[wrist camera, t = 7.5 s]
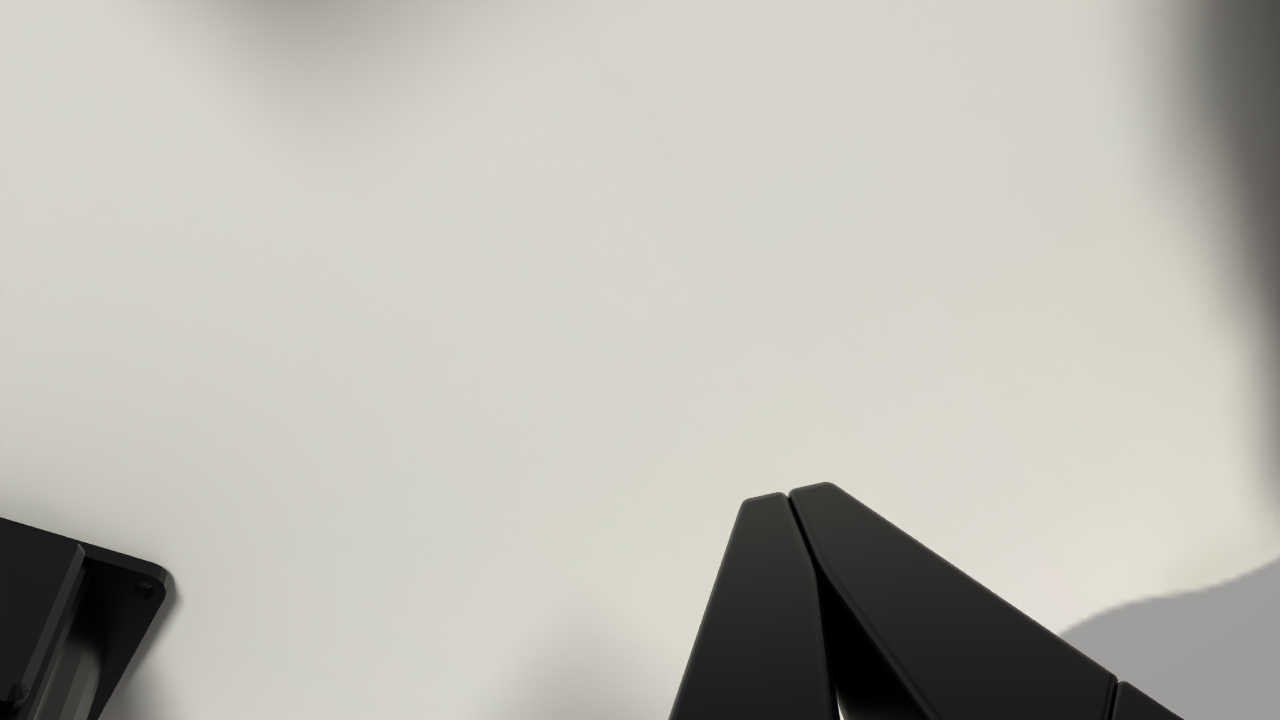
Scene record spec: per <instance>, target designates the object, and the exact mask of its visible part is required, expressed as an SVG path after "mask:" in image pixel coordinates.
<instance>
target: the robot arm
mask: <svg viewBox="0 0 1280 720" xmlns="http://www.w3.org/2000/svg"><path fill="white" fill-rule="evenodd" d="M169 581H170V578H169V575H168V572H167V571H166V570H165V569H164V568H163V567H161V566H159V565H157V564H155V563H152V562H149V561H146V560H142V559H139V558H135V557H132V556H129V555H125V554H122V553H119V552H115V551H112V550H109V549H105V548H102V547H98V546H95V545H92V544H88V543H85V542H82V541H78V540H75V539H72V538H68V537H65V536H62V535H58V534H55V533H51V532H48V531H45V530H41V529H38V528H35V527H31V526H28V525H25V524H21V523H18V522H15V521H11V520H8V519H4V518H1V517H0V720H98V718H99V716H100V714H101V712H102V711H103V709H104V707H105V705H106V703H107V702H108V700H109V698H110V696H111V694H112V692H113V691H114V689H115V687H116V685H117V683H118V682H119V680H120V678H121V676H122V674H123V673H124V671H125V669H126V667H127V665H128V664H129V662H130V660H131V658H132V656H133V655H134V653H135V651H136V649H137V647H138V646H139V644H140V642H141V640H142V638H143V637H144V635H145V633H146V631H147V629H148V627H149V626H150V624H151V622H152V620H153V618H154V617H155V615H156V613H157V611H158V609H159V608H160V606H161V604H162V602H163V600H164V599H165V595H166V592H167V588H168V585H169ZM136 583H146V584H148V585H150V586H152V587H149V588H141V587H139V586H137V585H135V584H136ZM837 701H838V702H837ZM838 704H839V707H840V710H841V713H842V715H843V718H844V720H1184V719H1182V718H1180V717H1179V716H1177V715H1176V714H1174V713H1173V712H1171V711H1170V710H1168V709H1167V708H1165V707H1164V706H1162V705H1161V704H1159V703H1158V702H1156V701H1155V700H1153V699H1152V698H1150V697H1149V696H1147V695H1146V694H1144V693H1143V692H1141V691H1140V690H1139V689H1137V688H1136V687H1134V686H1132V685H1131V684H1130V683H1128V682H1126V681H1121V682H1119V683H1118V679H1117V677H1116V676H1115V675H1114V674H1112V673H1111V672H1109V671H1108V670H1106V669H1105V668H1104V667H1102V666H1101V665H1099V664H1098V663H1096V662H1095V661H1093V660H1092V659H1090V658H1089V657H1087V656H1086V655H1084V654H1083V653H1082V652H1080V651H1079V650H1077V649H1076V648H1074V647H1073V646H1071V645H1070V644H1068V643H1067V642H1065V641H1064V640H1063V639H1061V638H1059V637H1058V636H1057V635H1055V634H1054V633H1052V632H1051V631H1049V630H1048V629H1046V628H1045V627H1043V626H1042V625H1040V624H1039V623H1038V622H1036V621H1035V620H1033V619H1032V618H1030V617H1029V616H1027V615H1026V614H1024V613H1023V612H1021V611H1020V610H1018V609H1017V608H1015V607H1014V606H1013V605H1011V604H1010V603H1008V602H1007V601H1005V600H1004V599H1002V598H1001V597H999V596H998V595H996V594H995V593H993V592H992V591H991V590H989V589H988V588H986V587H985V586H983V585H982V584H980V583H979V582H977V581H976V580H974V579H973V578H971V577H970V576H968V575H967V574H966V573H964V572H963V571H961V570H960V569H958V568H957V567H955V566H954V565H952V564H951V563H949V562H948V561H946V560H945V559H944V558H942V557H941V556H939V555H938V554H936V553H935V552H933V551H932V550H930V549H929V548H927V547H926V546H924V545H923V544H921V543H920V542H919V541H917V540H916V539H914V538H913V537H911V536H910V535H908V534H907V533H905V532H904V531H902V530H901V529H899V528H898V527H897V526H895V525H894V524H892V523H891V522H889V521H888V520H886V519H885V518H883V517H882V516H880V515H879V514H877V513H876V512H874V511H873V510H872V509H870V508H869V507H867V506H866V505H864V504H863V503H861V502H860V501H858V500H857V499H855V498H854V497H852V496H851V495H850V494H848V493H847V492H845V491H844V490H842V489H841V488H839V487H838V486H836V485H835V484H833V483H830V482H822V483H818V484H813V485H809V486H804V487H799V488H795V489H792V490H791V491H790V492H789V495H788V497H787V496H786V495H785V494H784V493H781V492H776V493H772V494H767V495H763V496H758V497H754V498H749V499H746V500H744V501H743V503H742V504H741V506H740V509H739V512H738V515H737V518H736V521H735V524H734V527H733V530H732V532H731V535H730V538H729V541H728V544H727V547H726V550H725V553H724V556H723V559H722V562H721V565H720V568H719V571H718V574H717V577H716V580H715V583H714V586H713V589H712V592H711V595H710V598H709V601H708V604H707V607H706V610H705V612H704V615H703V618H702V621H701V624H700V627H699V630H698V633H697V636H696V639H695V642H694V645H693V648H692V651H691V654H690V657H689V660H688V663H687V666H686V669H685V672H684V675H683V678H682V681H681V684H680V687H679V690H678V692H677V695H676V698H675V701H674V704H673V707H672V710H671V713H670V716H669V719H668V720H840V715H839V708H838Z"/></svg>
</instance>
